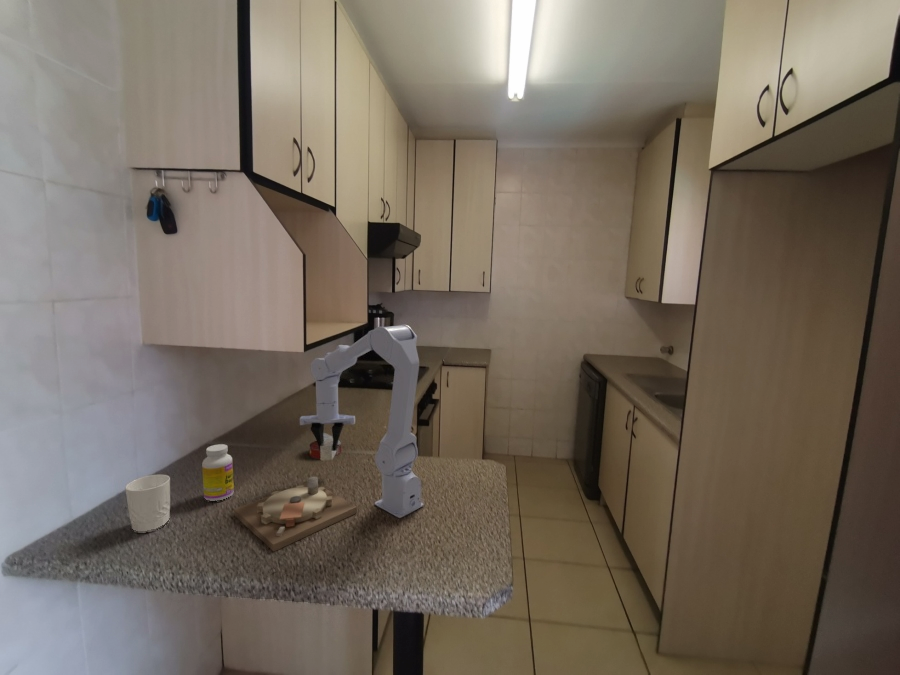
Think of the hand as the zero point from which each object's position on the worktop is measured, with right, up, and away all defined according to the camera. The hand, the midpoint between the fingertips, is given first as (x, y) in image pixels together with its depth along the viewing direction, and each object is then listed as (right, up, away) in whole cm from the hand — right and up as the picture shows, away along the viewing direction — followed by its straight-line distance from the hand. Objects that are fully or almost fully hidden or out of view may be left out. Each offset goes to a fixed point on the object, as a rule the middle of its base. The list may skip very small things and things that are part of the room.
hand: (328, 449), depth 113 cm
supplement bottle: (-25, -10, -9) cm, 28 cm away
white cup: (-33, -11, -22) cm, 41 cm away
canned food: (-7, -7, +20) cm, 23 cm away
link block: (0, -2, 0) cm, 2 cm away
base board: (-3, -11, -17) cm, 20 cm away
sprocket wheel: (-3, -9, -17) cm, 19 cm away
